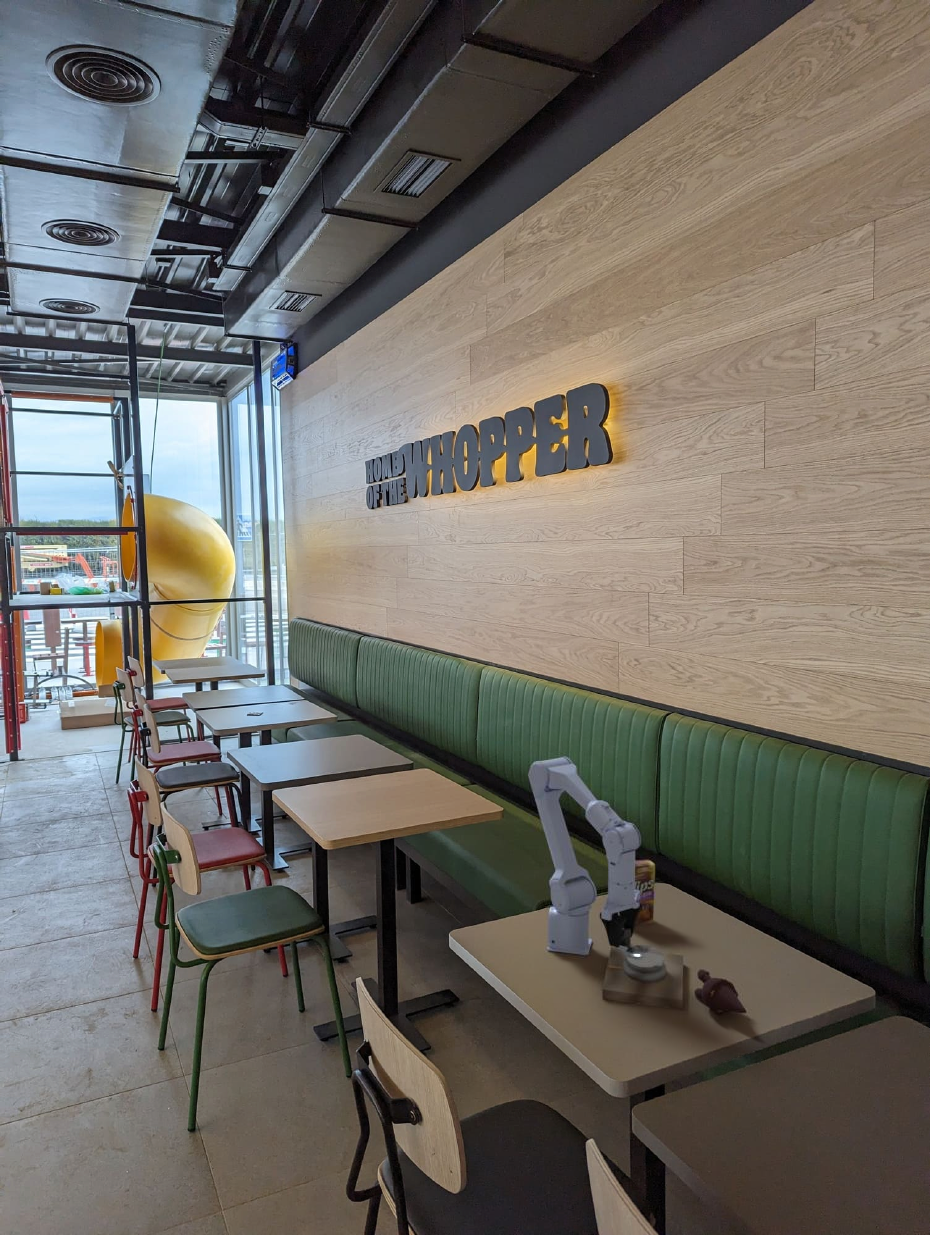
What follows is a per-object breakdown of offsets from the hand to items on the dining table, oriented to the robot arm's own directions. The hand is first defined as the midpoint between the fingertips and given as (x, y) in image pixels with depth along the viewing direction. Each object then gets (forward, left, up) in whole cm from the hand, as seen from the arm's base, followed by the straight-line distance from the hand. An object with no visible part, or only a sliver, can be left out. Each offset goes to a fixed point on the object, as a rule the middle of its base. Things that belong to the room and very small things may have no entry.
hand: (620, 941), depth 182 cm
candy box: (+1, +28, -7) cm, 29 cm away
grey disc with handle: (+4, -1, -3) cm, 5 cm away
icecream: (+21, -11, -7) cm, 24 cm away
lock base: (+5, -2, -7) cm, 9 cm away
